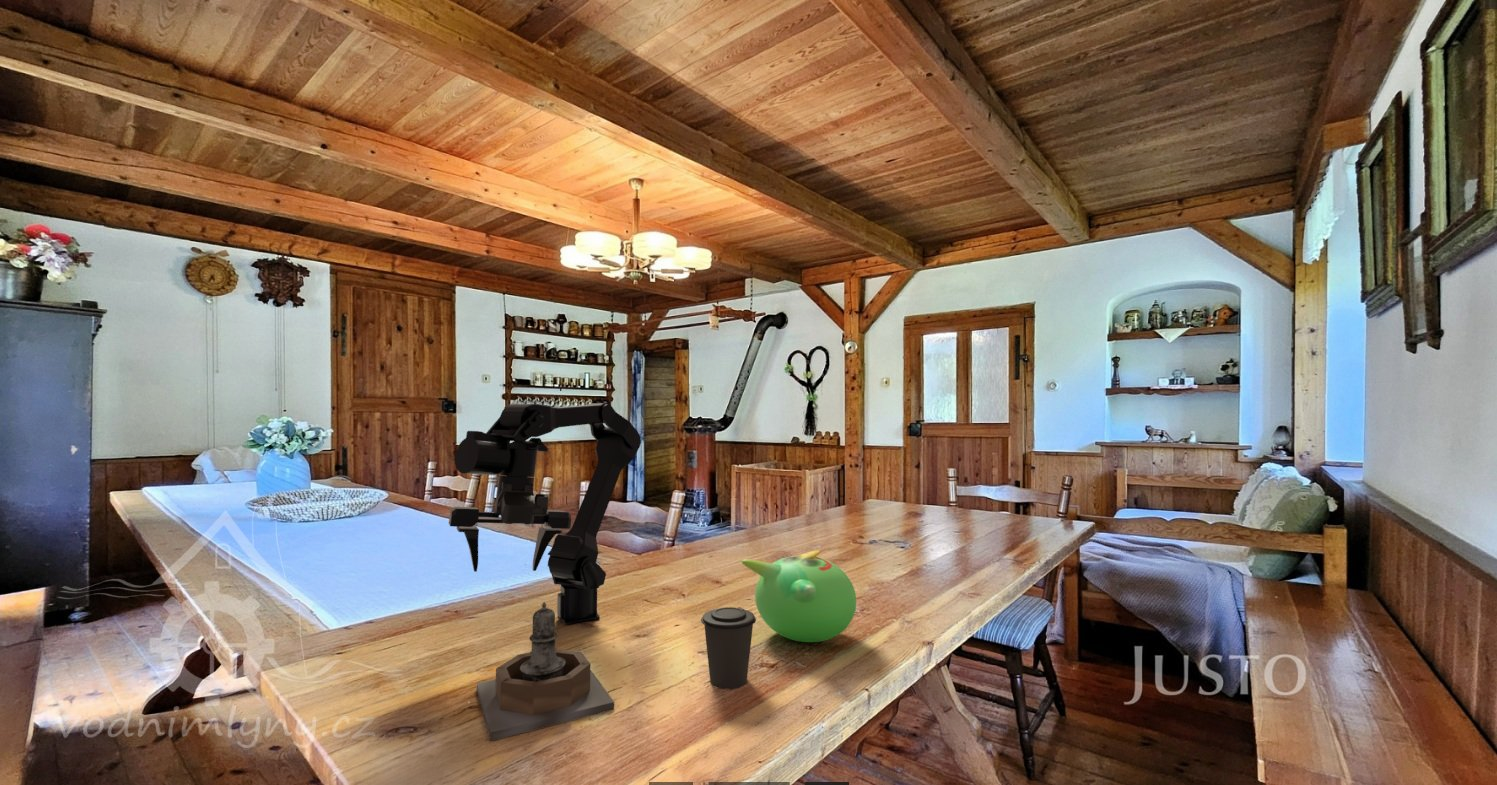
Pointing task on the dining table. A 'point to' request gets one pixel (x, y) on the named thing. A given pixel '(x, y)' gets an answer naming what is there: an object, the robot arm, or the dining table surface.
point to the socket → (540, 696)
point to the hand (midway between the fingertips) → (505, 570)
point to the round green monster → (804, 597)
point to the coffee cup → (728, 645)
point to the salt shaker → (543, 649)
